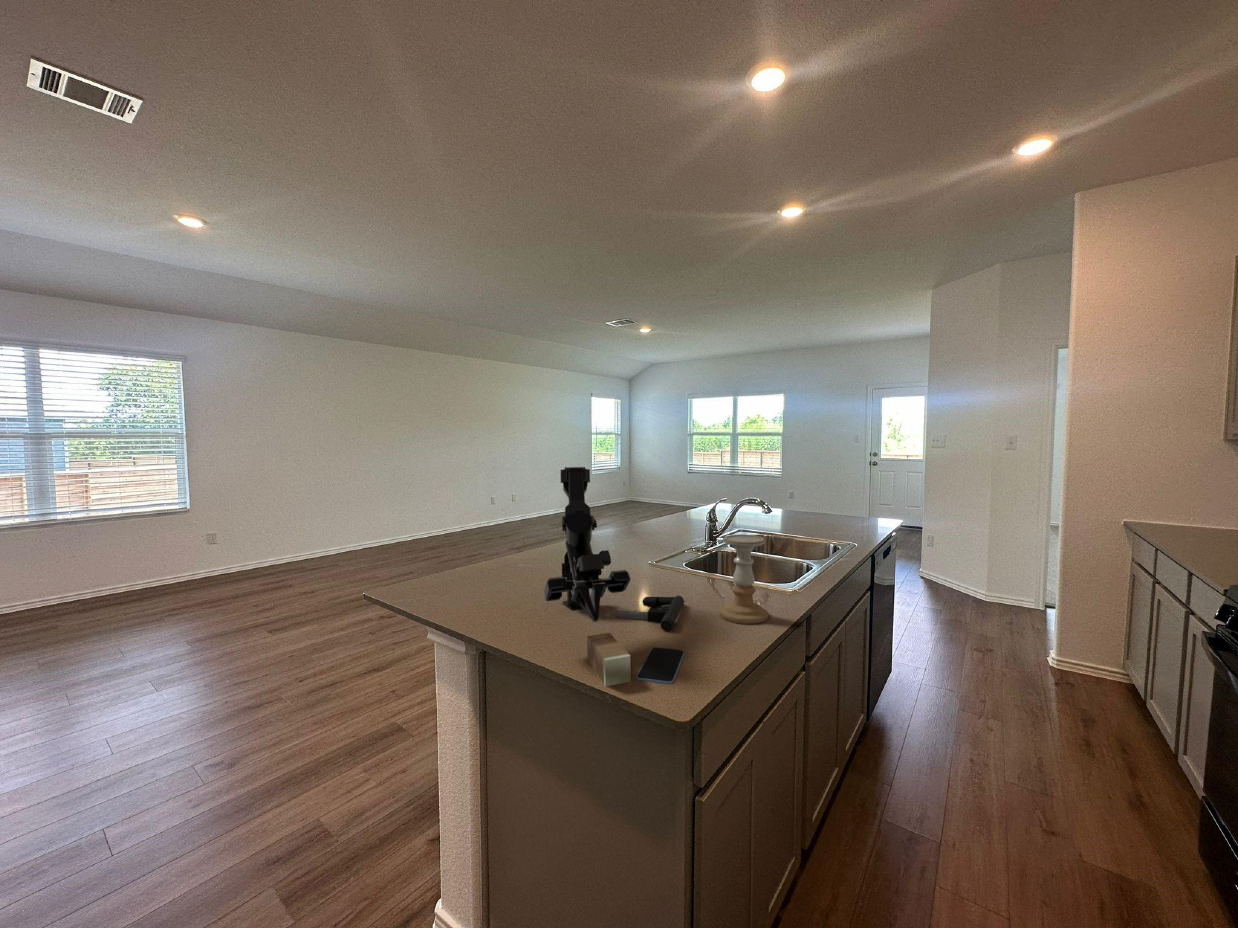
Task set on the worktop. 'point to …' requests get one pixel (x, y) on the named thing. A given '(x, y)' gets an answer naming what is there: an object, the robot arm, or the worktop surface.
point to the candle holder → (743, 583)
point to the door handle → (658, 611)
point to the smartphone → (661, 665)
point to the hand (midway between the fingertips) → (596, 620)
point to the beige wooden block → (608, 659)
